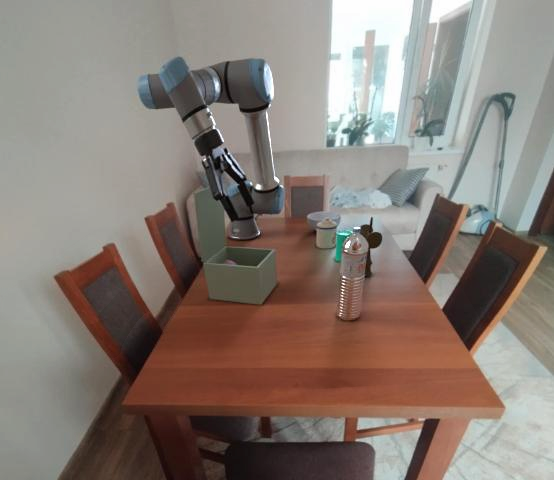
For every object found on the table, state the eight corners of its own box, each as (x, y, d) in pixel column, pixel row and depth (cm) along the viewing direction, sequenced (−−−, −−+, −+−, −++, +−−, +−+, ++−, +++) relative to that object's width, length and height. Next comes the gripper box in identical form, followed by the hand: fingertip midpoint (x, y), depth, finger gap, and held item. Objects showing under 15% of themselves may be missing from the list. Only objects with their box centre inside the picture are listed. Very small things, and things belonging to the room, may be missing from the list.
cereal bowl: (308, 225, 173) (308, 211, 169) (339, 225, 171) (340, 210, 167) (305, 235, 160) (305, 220, 156) (340, 235, 158) (341, 219, 154)
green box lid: (222, 182, 102) (220, 181, 103) (196, 193, 90) (193, 192, 90) (226, 245, 115) (224, 244, 115) (203, 262, 103) (201, 261, 103)
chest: (277, 283, 118) (275, 249, 110) (261, 304, 106) (258, 267, 98) (230, 279, 123) (225, 246, 115) (209, 299, 111) (202, 263, 103)
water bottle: (345, 323, 94) (354, 233, 79) (331, 313, 99) (337, 227, 84) (364, 317, 97) (376, 228, 81) (350, 308, 101) (359, 222, 86)
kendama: (367, 269, 125) (374, 212, 112) (377, 279, 117) (386, 219, 105) (352, 270, 124) (358, 214, 111) (361, 281, 116) (368, 221, 104)
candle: (351, 257, 135) (354, 226, 127) (347, 262, 131) (350, 231, 123) (337, 255, 137) (339, 225, 129) (333, 260, 133) (335, 229, 125)
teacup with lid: (336, 248, 144) (338, 220, 136) (315, 249, 144) (316, 221, 137) (335, 240, 153) (337, 213, 146) (315, 240, 154) (316, 213, 146)
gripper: (194, 134, 77) (239, 222, 88) (232, 120, 94) (266, 194, 105) (171, 150, 81) (217, 232, 92) (213, 133, 98) (247, 204, 109)
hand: (243, 212), depth 99 cm, fingers open, 13 cm apart
